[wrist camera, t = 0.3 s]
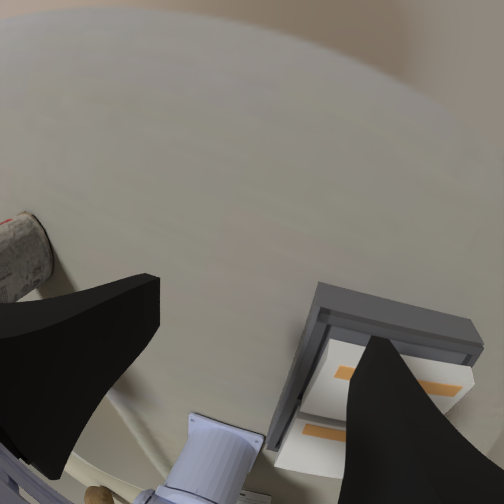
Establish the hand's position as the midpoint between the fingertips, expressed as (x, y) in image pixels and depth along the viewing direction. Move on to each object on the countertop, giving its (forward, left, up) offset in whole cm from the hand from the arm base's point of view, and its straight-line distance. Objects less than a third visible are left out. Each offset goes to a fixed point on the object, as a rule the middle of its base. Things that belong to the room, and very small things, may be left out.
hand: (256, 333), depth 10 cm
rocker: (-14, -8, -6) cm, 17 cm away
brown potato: (-82, +31, -10) cm, 89 cm away
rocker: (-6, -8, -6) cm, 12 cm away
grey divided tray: (-10, -8, -10) cm, 16 cm away
